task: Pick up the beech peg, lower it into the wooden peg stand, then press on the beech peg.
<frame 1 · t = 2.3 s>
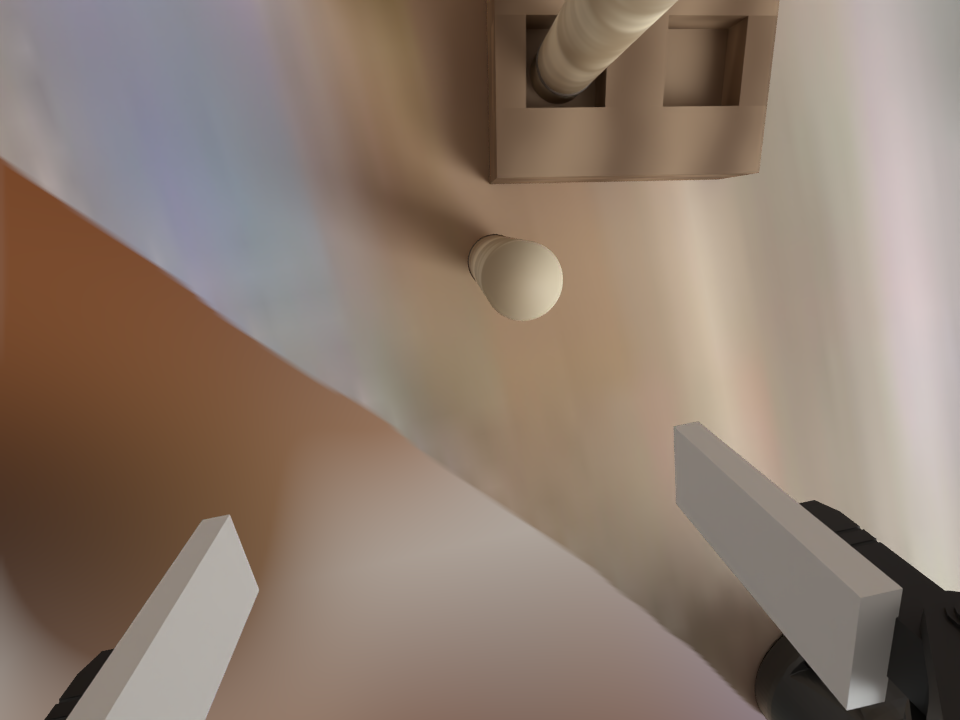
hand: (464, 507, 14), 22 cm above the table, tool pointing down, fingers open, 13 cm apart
wooden peg stand: (610, 84, 32), on the table
beech peg: (491, 259, 34), on the table
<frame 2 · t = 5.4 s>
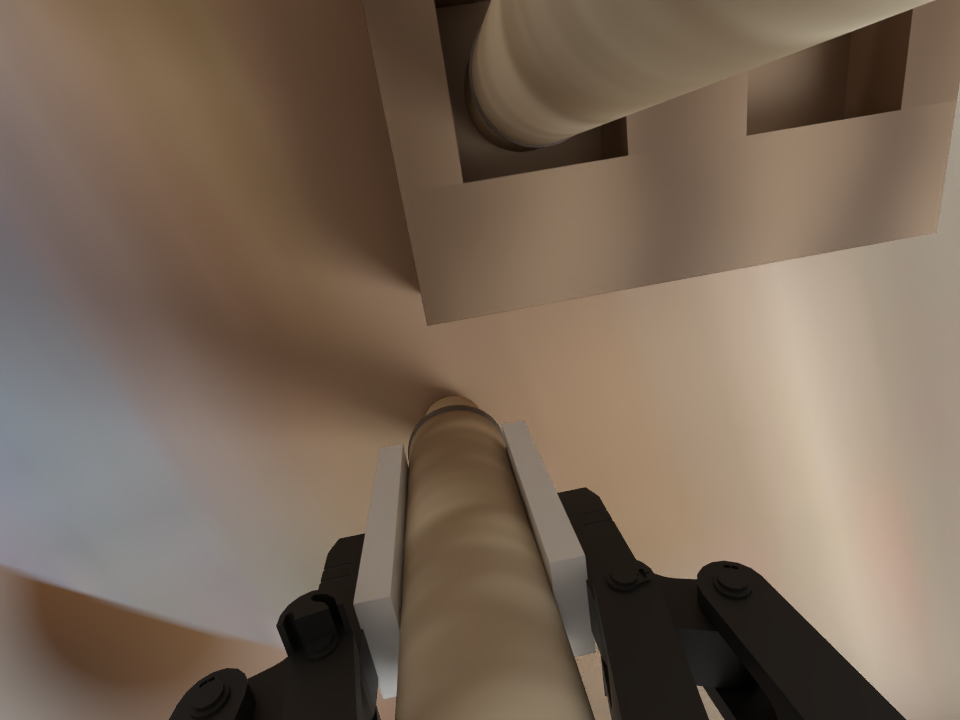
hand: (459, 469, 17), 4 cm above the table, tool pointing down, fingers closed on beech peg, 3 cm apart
wooden peg stand: (620, 85, 17), on the table
beech peg: (453, 423, 20), on the table, touching gripper
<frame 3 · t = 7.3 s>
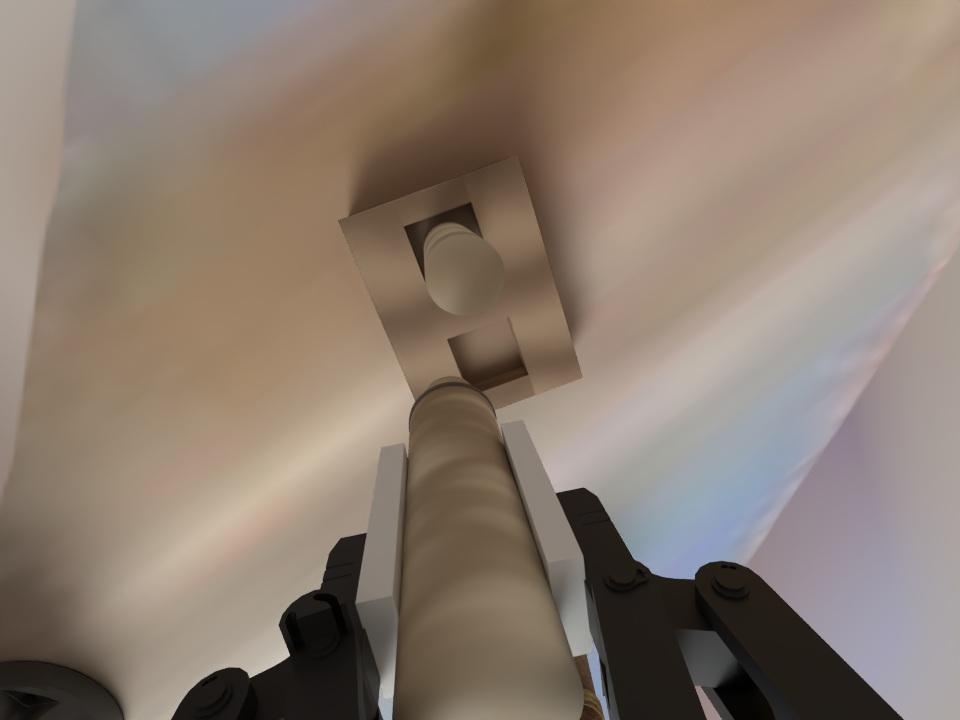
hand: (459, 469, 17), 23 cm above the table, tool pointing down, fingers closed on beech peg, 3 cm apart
wooden peg stand: (464, 293, 38), on the table
wooden mug: (530, 650, 50), on the table
beech peg: (450, 401, 22), point 17 cm above the table, touching gripper
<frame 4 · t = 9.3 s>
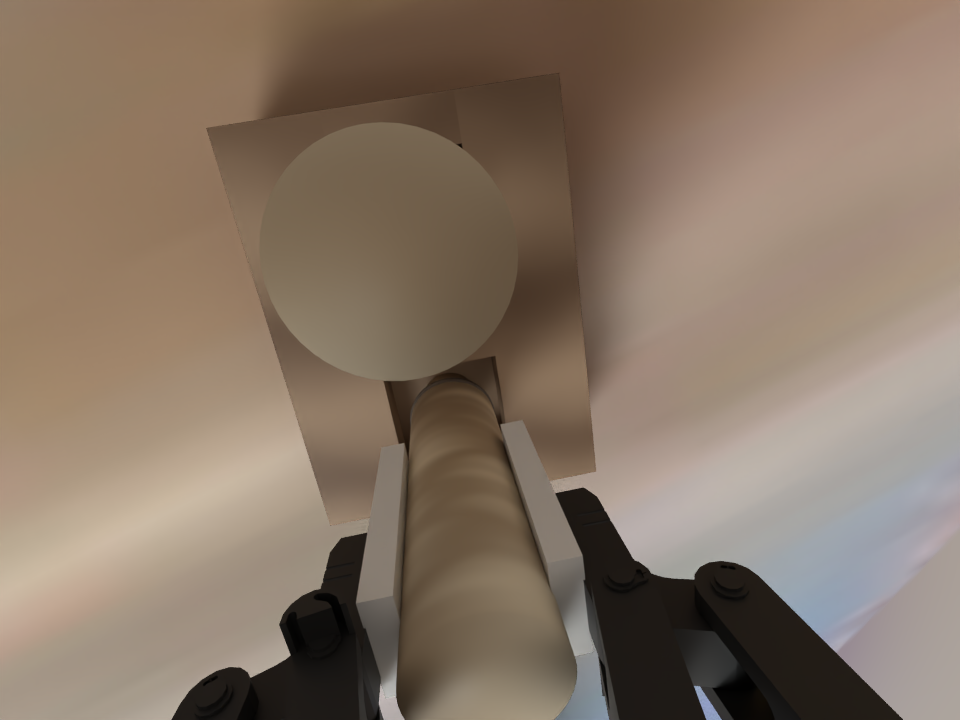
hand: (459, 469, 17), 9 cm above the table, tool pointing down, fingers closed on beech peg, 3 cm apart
wooden peg stand: (429, 302, 23), on the table
beech peg: (450, 397, 22), point 3 cm above the table, touching gripper
when the fingers open (7 cm above the table, at t = 9.9 s): beech peg stays where it is, resting on wooden peg stand.
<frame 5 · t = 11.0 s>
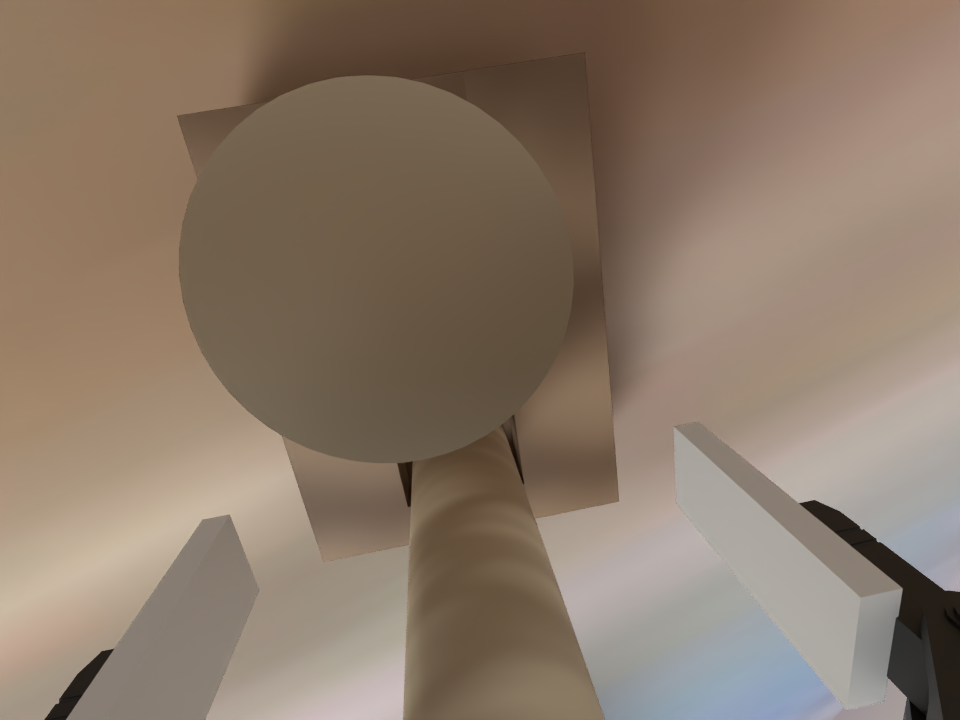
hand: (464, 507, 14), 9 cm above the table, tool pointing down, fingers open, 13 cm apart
wooden peg stand: (433, 312, 21), on the table
beech peg: (456, 418, 20), point 3 cm above the table, touching wooden peg stand
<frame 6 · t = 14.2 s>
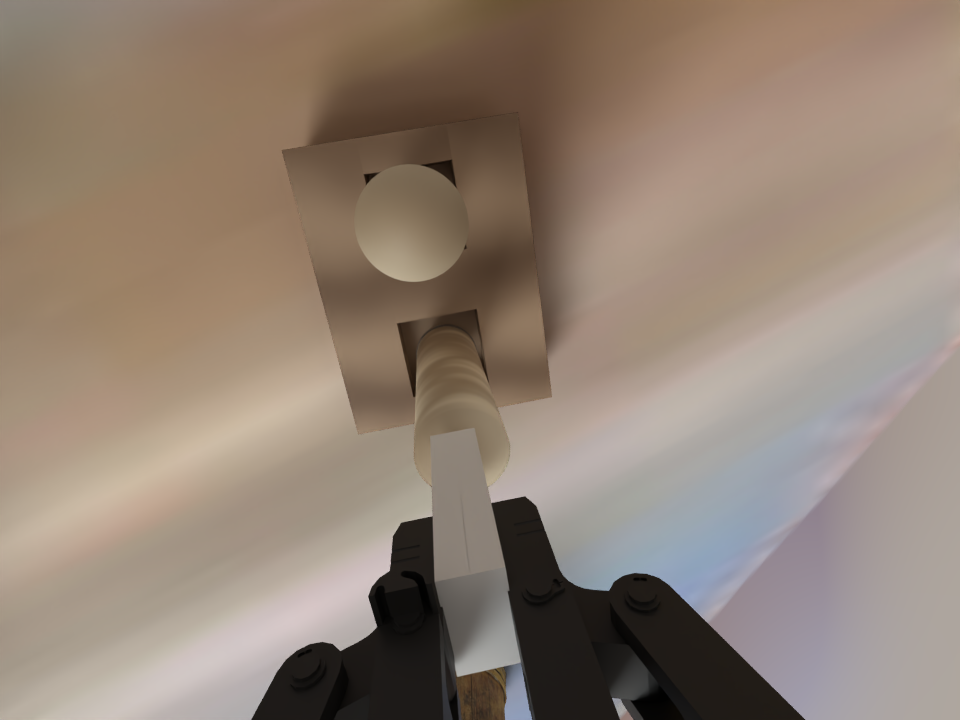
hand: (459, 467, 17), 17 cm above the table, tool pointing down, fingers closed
wooden peg stand: (430, 274, 32), on the table
wooden mug: (442, 698, 44), on the table
beech peg: (444, 343, 31), point 3 cm above the table, touching wooden peg stand
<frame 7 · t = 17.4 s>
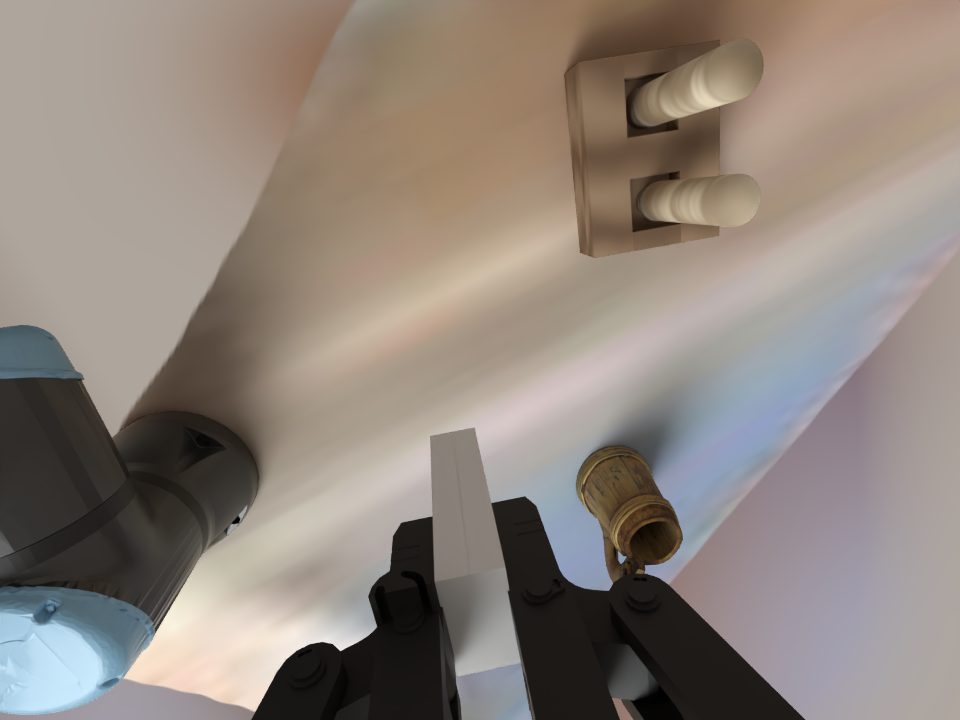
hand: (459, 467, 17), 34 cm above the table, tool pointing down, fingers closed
wooden peg stand: (633, 158, 47), on the table
wooden mug: (601, 493, 59), on the table
beech peg: (647, 201, 46), point 3 cm above the table, touching wooden peg stand
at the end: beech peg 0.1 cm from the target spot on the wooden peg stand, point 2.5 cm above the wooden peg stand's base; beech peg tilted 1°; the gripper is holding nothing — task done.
